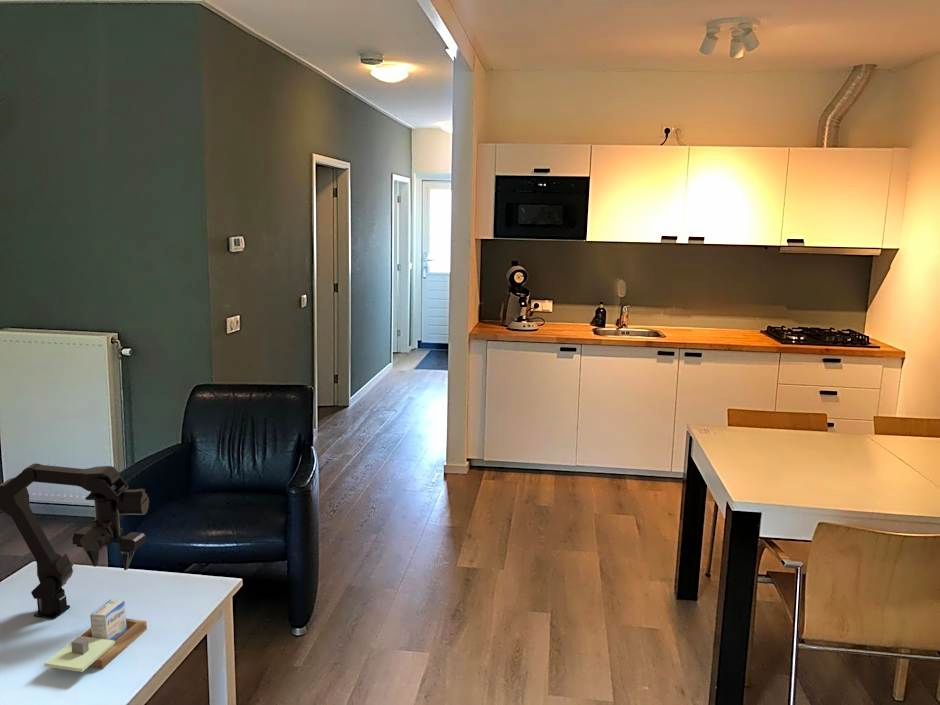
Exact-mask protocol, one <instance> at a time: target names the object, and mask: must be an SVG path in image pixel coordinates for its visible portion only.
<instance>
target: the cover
mask: <svg viewBox="0 0 940 705" xmlns="http://www.w3.org/2000/svg"><path fill="white" fill-rule="evenodd" d="M114 644H115V641H113V640H106V639H99V638H92V637H85V636H81V635H78V636H77V637H76V638H75V639H73V640H71V641H70V642H69V643H68V644H67V645H65V646H64V647H63V648H61V649H60V650H59V651H58V652H57V653H55V654H54V655H53V656H52V657H50V658H49V659H48V660H47V661H45V662H44V663H43V664H44V667H46V668H47V667H48V668H53V669H54V668H55V669H60V670H68V671H73V672H81V673H83V672H84V671H85V670H87V669H88V668H90V667H89V666H90V665H91V664H92V663H93V662H94V661H96V660H97V659H98V658H99V657H100V656H101V655H102V654H104V653H105V652H106V651H107V650H108V649H109V648H111V647H112V646H113V645H114Z"/></svg>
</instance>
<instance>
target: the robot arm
mask: <svg viewBox="0 0 940 705" xmlns="http://www.w3.org/2000/svg"><path fill="white" fill-rule="evenodd" d="M33 483H42V484H54V485H61V486H62V485H63V486H75V487H80V488H82V489H83V490H85V491H87V492H90V493H89V494H88V495H87V496H85V499H84V500H86V501H93V504H94V505H93V506H94V517H95V519H93V520H92V522H91V526H83V527H82V528H80V529H79V530H77V531H75V532H74V533H73V534H72V536H71V544H72V545H75V546H76V547H77V548H80V549H82V550H83V551H85V553H86V554H87V556H88V558H89V560H90V561H91V564H92V566H93V567H94V568H95V567H97V566H99V565H98V564H99V557H100V555H99V554H100V551H101V549H103V547H104V548H105V547H106V548H107V547H108V546H109V544H110V543H115V544H119V548H120V550H119V553H121V554H122V562H123V563H122V566H123V570H124V571H127V570H128V569H129V568H130V564H131V562H132V559H133V558H134V555H135V553H136V551H137V549H138V548H140V547H141V546H143V545H144V544H146V542H147V539H146V535H145V533H143V532H134V531H131V532H129V533H128V534H126V535H121V534H122V533H124V528H123V527H121V525H120V524H121V522H120V520H121V519H123V516H125V515H126V516H127V515H137V516H138V515H139V516H140V515H141V516H142V515H146V514H147V513H148V512H149V511H148V510H149V507H150V505H149V504H150V498H149V497H148V493H146V489H145V488H137V489H129V485H128V483H126V481H125V480H124V479H123V478H122V477H121V475H120V472H119V471H118V470H117V468H115V467H114V466H112V465H111V466H110V465H103V466H102V465H100V466H93V467H89V468H78V467H70V466H69V467H66V466H56V465H48V464H46V465H45V464H40V463H31V464H30V465H29V466H27V467H25V468H24V469H22V471H21V472H19V474H17V475H16V476H15V477H10V478H9V479H6V480H5V481H4V482H2V483H1V484H0V512H1V513H4V514H5V515H7V516H9V517H10V518H11V520H12V522H13V523H14V526H15V527H16V529H17V530H18V532H19V535H20V536H21V537H22V539H23V541H24V543H25V545H26V546H27V548H28V550H29V551H30V553H31V555H32V557H33V559H34V560H35V562H36V576H37V578H38V582H39V584H37V586H35V588H34V589H33V590H31V592H30V594H31V596H32V597H33V599H34V600H36V603H37V611H35V612H34V613H33V617H38V618H46V619H56V618H57V617H59V616H60V615H62V614H63V613H65V612H66V611H68V610H69V609H70V608H71V605H69V604H68V603H67V595H66V592H65V591H66V590H65V589H64V588H63V587H64V586H65V585H66V584H67V582H68V581H69V579H71V578H72V576H73V573H74V569H73V567H74V564H73V563H72V562H71V561H70V559H69V557H68V554H67V553H64V554H62V555H61V554H59V553H57V552H56V551H55V550H54V547H53V546H52V544H51V542H50V540H49V539H48V537H47V535H46V534H45V532H44V530H43V528H42V527H41V525H40V523H39V521H38V518H36V516H35V514H34V512H33V510H32V508H31V506H30V494H29V490H28V488H27V487H29V486H30V485H31V484H33ZM114 487H115V488H114ZM113 488H114V489H113Z"/></svg>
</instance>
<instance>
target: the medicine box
mask: <svg viewBox="0 0 940 705" xmlns="http://www.w3.org/2000/svg"><path fill="white" fill-rule="evenodd" d="M125 602H126V601H124V600H122V599H121V600H120V599H109V600H108V601H106V602H105V603H103V604H102V605H101V606H100V607H98V608H97V609H96V610H94V611H93V612H91V613H90V615H89V617H90V628H91V631H92V638H99V639H106V640H113V641H115V640H116V639H117V638H118V637H120V636H121V635H122V634H123V633H124V632H125V631H126V630H127V627H126V618H127V616H126V603H125Z"/></svg>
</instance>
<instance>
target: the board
mask: <svg viewBox="0 0 940 705" xmlns="http://www.w3.org/2000/svg"><path fill="white" fill-rule="evenodd" d="M147 623H148V622H147V620H141V619H134V618H127V617H126V627H127V630H126V631H125V632H124V633H123V634H122V635H121V636H120V637H118V638H117V639H116V640H115V644H114V645H113V646H112V647H111V648H109V649H108V650H107V651H106V652H105V653H104V654H102V655H101V656H100V657H99V658H98V659H97V660H96V661H94V662H93V663H92V664H91V665H90V666H89V667H88V668H93V669H99V670H103V669H104V668H106V666H107V665H109V664H111V662H112V661H113V660H115V659H116V657H118V656H119V655H120V654H121V653H122V652H123V651H124V650H125V649H126V648H128V647H129V646H130V645H131V644H132V643H133V642H134V641H136V640H137V639H138V638H139V637H140V636H141V635H142V634H143V633H145V632H146V631H147V630H148V626H147ZM80 636H85V637H92V631H91V627H90V628H88V629H86V630H85V631H84V632H83V633H82V634H80Z"/></svg>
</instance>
